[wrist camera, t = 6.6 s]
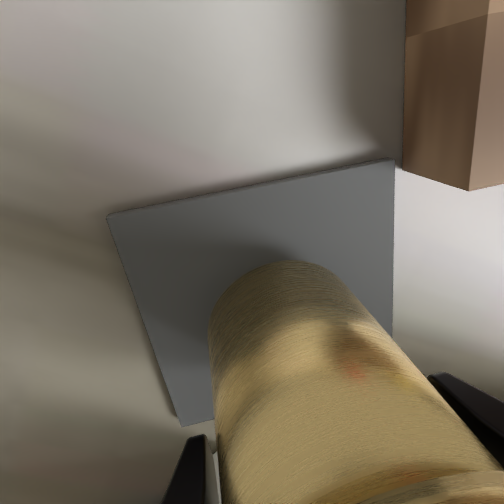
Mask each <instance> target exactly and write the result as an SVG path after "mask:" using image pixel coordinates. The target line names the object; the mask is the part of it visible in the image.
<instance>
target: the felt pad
mask: <svg viewBox="0 0 504 504" xmlns="http://www.w3.org/2000/svg"><path fill="white" fill-rule="evenodd" d="M394 184H395V159H391V158H384V159H379V160H374V161H369V162H364V163H359V164H354V165H349V166H345V167H340V168H335V169H330V170H325V171H320V172H315V173H310V174H305V175H300V176H295V177H290V178H285V179H280V180H275V181H270V182H265V183H260V184H256V185H251V186H246V187H241V188H236V189H231V190H226V191H221V192H216V193H211V194H206V195H201V196H196V197H191V198H186V199H181V200H176V201H171V202H167V203H162V204H157V205H152V206H147V207H142V208H137V209H132V210H127V211H122V212H117V213H112V214H109V215H108V216H107V218H106V220H107V222H108V225H109V228H110V231H111V233H112V236H113V239H114V242H115V245H116V247H117V250H118V253H119V256H120V258H121V261H122V264H123V267H124V270H125V272H126V275H127V278H128V281H129V283H130V286H131V289H132V292H133V294H134V297H135V300H136V303H137V306H138V308H139V311H140V314H141V317H142V319H143V322H144V325H145V328H146V330H147V333H148V336H149V339H150V342H151V344H152V347H153V350H154V353H155V355H156V358H157V361H158V364H159V367H160V369H161V372H162V375H163V378H164V380H165V383H166V386H167V389H168V391H169V394H170V397H171V400H172V403H173V405H174V408H175V411H176V414H177V416H178V419H179V422H180V425H181V427H185V426H189V425H193V424H197V423H200V422H204V421H208V420H212V419H214V408H213V396H212V384H211V372H210V360H209V348H208V323H209V319H210V315H211V312H212V310H213V308H214V306H215V304H216V302H217V301H218V299H219V297H220V296H221V295H222V294H223V292H224V291H225V290H226V289H227V288H228V287H229V286H230V285H231V284H232V283H233V282H234V281H235V280H237V279H238V278H240V277H241V276H242V275H244V274H246V273H247V272H249V271H251V270H253V269H255V268H258V267H260V266H262V265H266V264H269V263H273V262H278V261H287V260H297V261H306V262H311V263H315V264H317V265H320V266H323V267H325V268H326V269H328V270H330V271H332V272H333V273H334V274H335V275H337V276H338V277H339V278H340V279H341V280H342V281H343V282H344V284H345V285H346V286H347V287H348V288H349V289H350V291H351V292H352V293H353V294H354V295H355V296H356V297H357V299H358V300H359V301H360V302H361V303H362V304H363V306H364V307H365V308H366V309H367V310H368V311H369V313H370V314H371V315H372V316H373V317H374V318H375V320H376V321H377V322H378V323H379V324H380V325H381V326H382V328H383V329H384V330H385V331H386V332H387V333H388V335H389V336H390V337H391V338H392V309H393V247H394Z"/></svg>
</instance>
